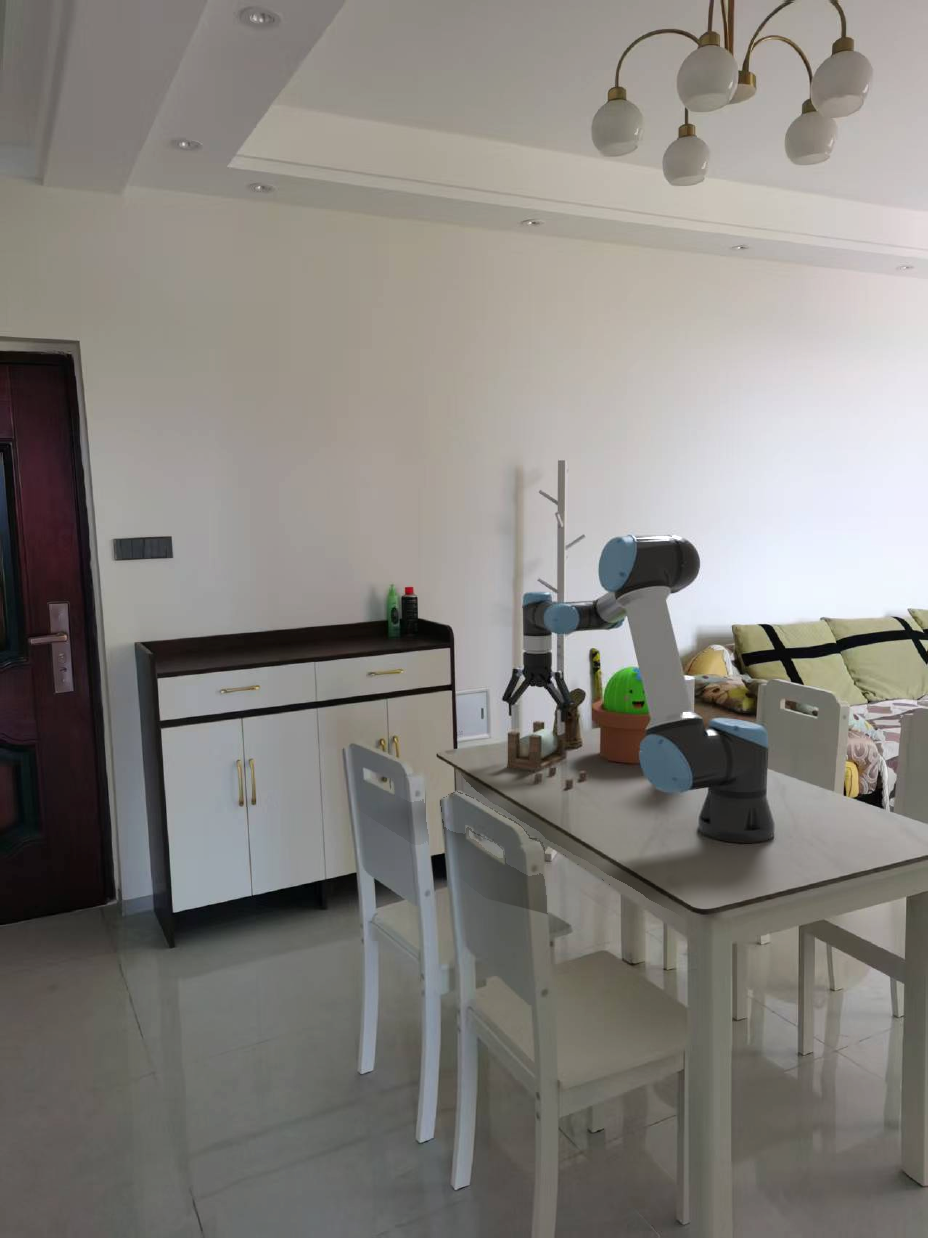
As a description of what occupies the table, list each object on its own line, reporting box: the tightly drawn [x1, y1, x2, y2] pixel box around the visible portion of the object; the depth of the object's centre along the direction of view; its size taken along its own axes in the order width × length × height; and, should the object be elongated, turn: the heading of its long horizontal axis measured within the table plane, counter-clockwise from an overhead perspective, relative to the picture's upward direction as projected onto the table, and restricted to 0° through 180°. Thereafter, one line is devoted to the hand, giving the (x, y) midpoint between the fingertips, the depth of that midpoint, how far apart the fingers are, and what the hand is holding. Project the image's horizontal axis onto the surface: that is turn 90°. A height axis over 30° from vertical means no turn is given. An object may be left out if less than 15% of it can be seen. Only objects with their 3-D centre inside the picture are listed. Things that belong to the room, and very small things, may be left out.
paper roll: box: [520, 728, 558, 759], centre depth 245 cm, size 14×7×7 cm, turn 147°
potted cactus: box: [591, 664, 651, 765], centre depth 250 cm, size 22×22×25 cm
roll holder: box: [506, 720, 567, 773], centre depth 246 cm, size 16×9×9 cm, turn 147°
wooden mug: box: [552, 687, 587, 749], centre depth 261 cm, size 9×14×18 cm, turn 14°
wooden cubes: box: [534, 765, 587, 790], centre depth 229 cm, size 9×10×2 cm
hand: (537, 731), depth 245 cm, fingers open, 13 cm apart
